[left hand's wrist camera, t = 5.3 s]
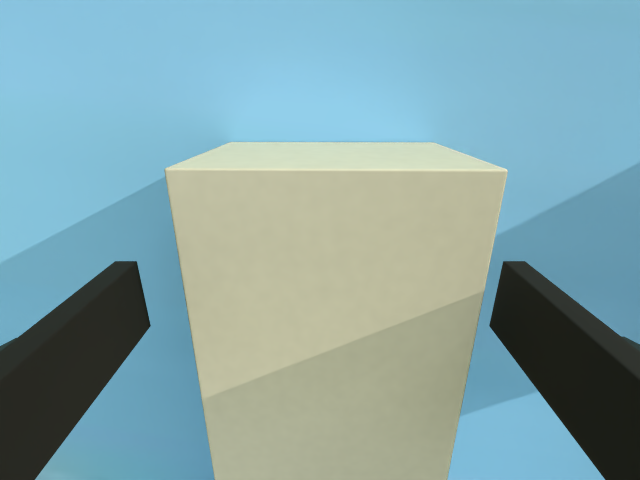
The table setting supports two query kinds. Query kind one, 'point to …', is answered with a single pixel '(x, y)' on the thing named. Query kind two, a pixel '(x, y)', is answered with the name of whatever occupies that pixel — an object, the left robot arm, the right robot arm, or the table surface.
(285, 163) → the thick block
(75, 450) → the table surface
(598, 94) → the table surface
